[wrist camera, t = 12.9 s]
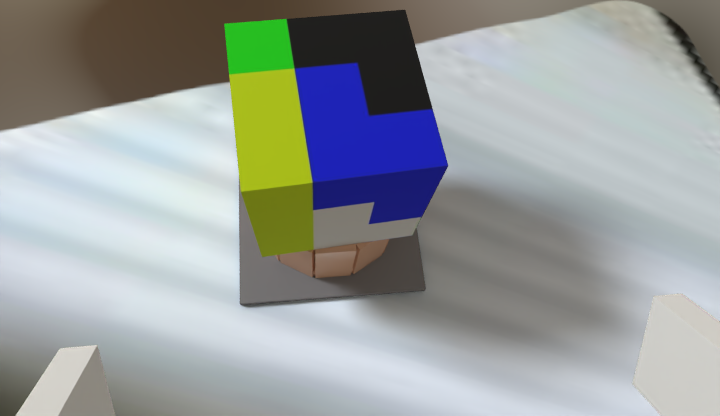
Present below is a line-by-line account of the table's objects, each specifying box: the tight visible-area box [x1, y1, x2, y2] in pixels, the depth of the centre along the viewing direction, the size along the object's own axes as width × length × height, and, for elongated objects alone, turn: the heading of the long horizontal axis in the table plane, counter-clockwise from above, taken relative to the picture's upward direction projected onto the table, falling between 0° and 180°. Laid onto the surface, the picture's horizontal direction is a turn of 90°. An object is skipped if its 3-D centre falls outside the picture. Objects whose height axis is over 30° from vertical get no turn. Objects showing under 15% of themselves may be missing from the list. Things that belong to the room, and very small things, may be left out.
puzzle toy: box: [224, 10, 448, 257], centre depth 30 cm, size 10×10×10 cm
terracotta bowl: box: [275, 239, 390, 278], centre depth 38 cm, size 11×11×6 cm
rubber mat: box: [239, 179, 426, 305], centre depth 41 cm, size 14×14×1 cm
